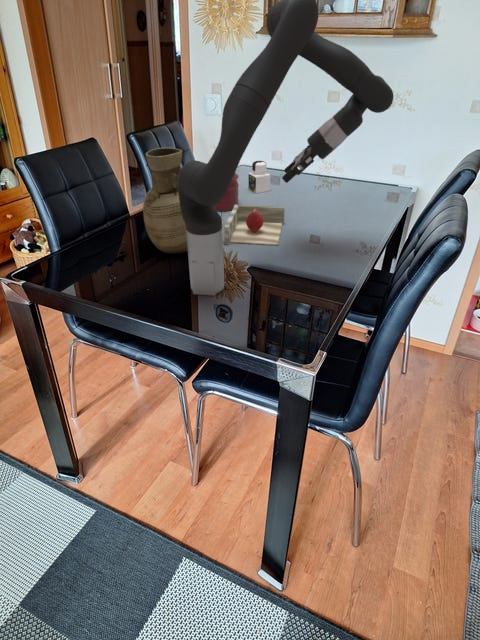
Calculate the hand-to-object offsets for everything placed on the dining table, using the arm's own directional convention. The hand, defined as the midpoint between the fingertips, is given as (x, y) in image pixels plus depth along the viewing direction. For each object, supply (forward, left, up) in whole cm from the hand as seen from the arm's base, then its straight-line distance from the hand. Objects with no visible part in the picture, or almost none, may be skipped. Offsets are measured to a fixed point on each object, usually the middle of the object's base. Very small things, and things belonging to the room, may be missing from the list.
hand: (285, 176), depth 132 cm
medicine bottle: (+53, +14, -21) cm, 59 cm away
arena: (+6, +10, -21) cm, 24 cm away
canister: (+31, +26, -22) cm, 46 cm away
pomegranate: (+5, +10, -21) cm, 24 cm away
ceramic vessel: (-8, +34, -21) cm, 41 cm away
